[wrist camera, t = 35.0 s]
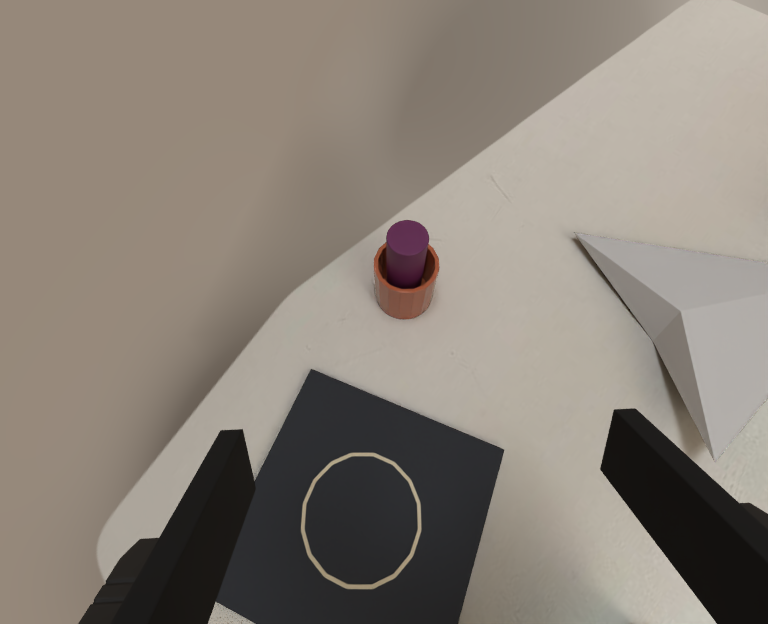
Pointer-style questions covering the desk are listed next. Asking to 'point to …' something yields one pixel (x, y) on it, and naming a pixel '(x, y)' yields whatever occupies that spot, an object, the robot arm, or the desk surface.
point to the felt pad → (361, 515)
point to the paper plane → (698, 326)
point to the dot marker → (406, 254)
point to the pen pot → (405, 300)
